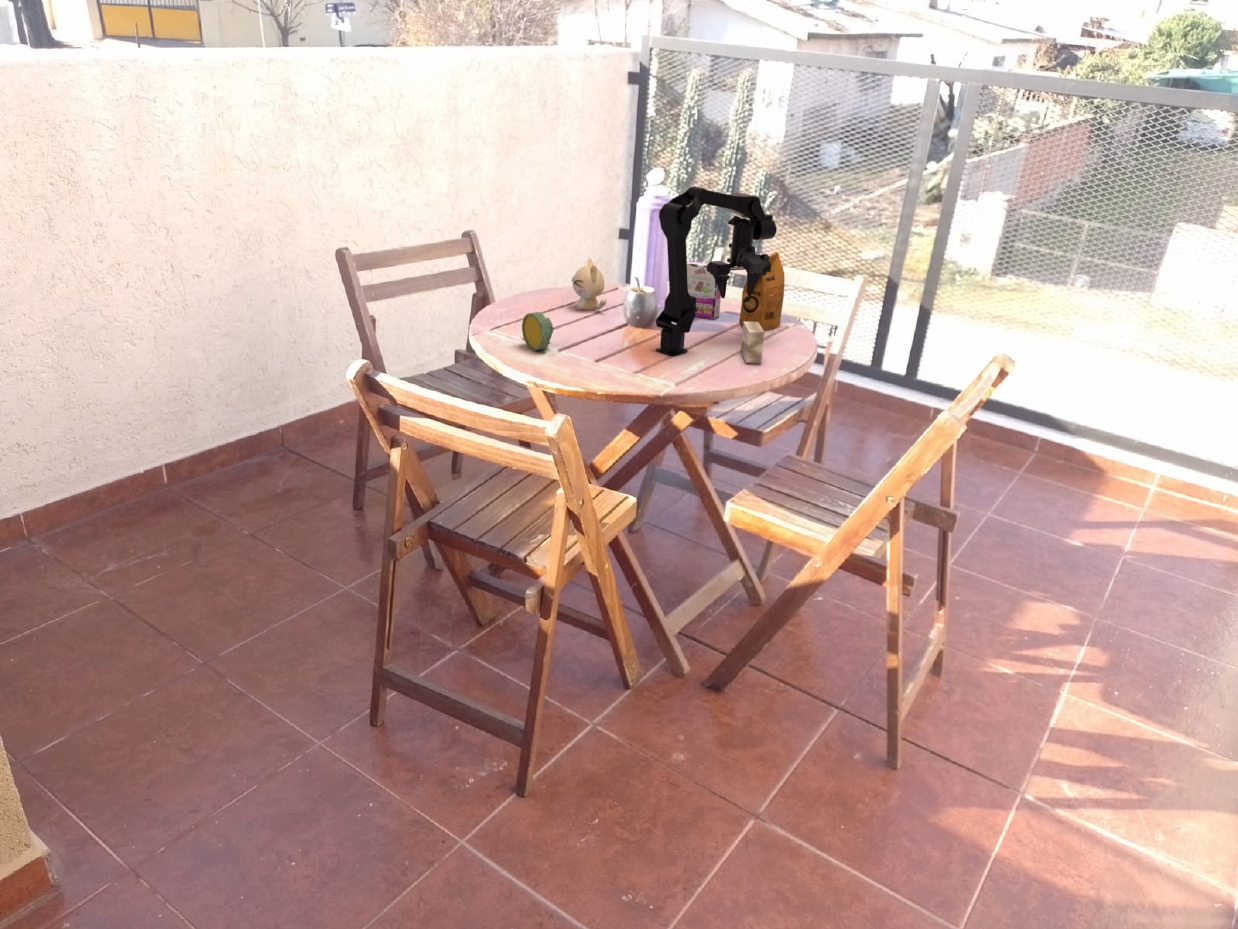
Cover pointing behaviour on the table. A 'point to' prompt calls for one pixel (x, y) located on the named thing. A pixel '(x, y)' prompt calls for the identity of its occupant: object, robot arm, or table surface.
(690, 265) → the candy bar box
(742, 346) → the marked block
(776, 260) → the coffee package
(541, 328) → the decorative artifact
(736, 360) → the table surface
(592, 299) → the kitten
